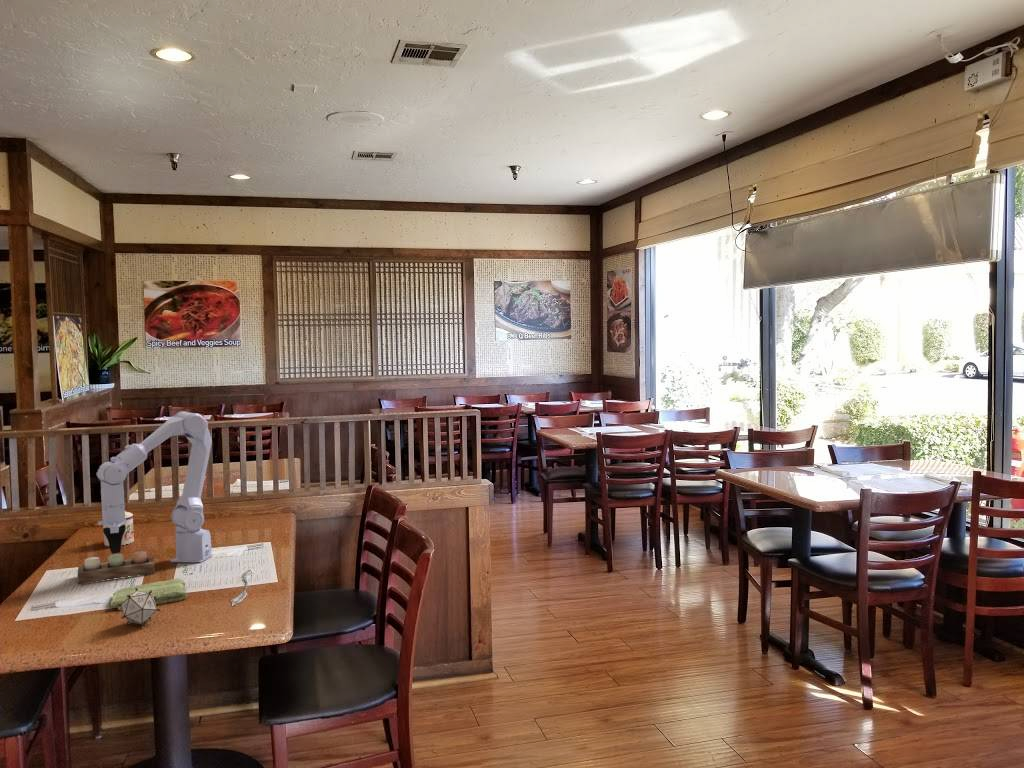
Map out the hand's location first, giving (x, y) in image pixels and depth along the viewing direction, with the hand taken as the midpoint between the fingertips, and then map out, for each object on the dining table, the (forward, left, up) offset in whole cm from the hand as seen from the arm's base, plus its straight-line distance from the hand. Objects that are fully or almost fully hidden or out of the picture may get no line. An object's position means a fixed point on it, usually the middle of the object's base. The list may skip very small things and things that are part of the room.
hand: (115, 552), depth 222 cm
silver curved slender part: (-40, +9, -7) cm, 42 cm away
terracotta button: (-5, -3, -3) cm, 7 cm away
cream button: (+5, +3, -3) cm, 7 cm away
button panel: (0, 0, -6) cm, 6 cm away
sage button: (0, 0, -3) cm, 3 cm away
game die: (-27, +35, -7) cm, 45 cm away
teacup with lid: (+18, -34, -7) cm, 39 cm away
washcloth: (-20, +18, -7) cm, 28 cm away
